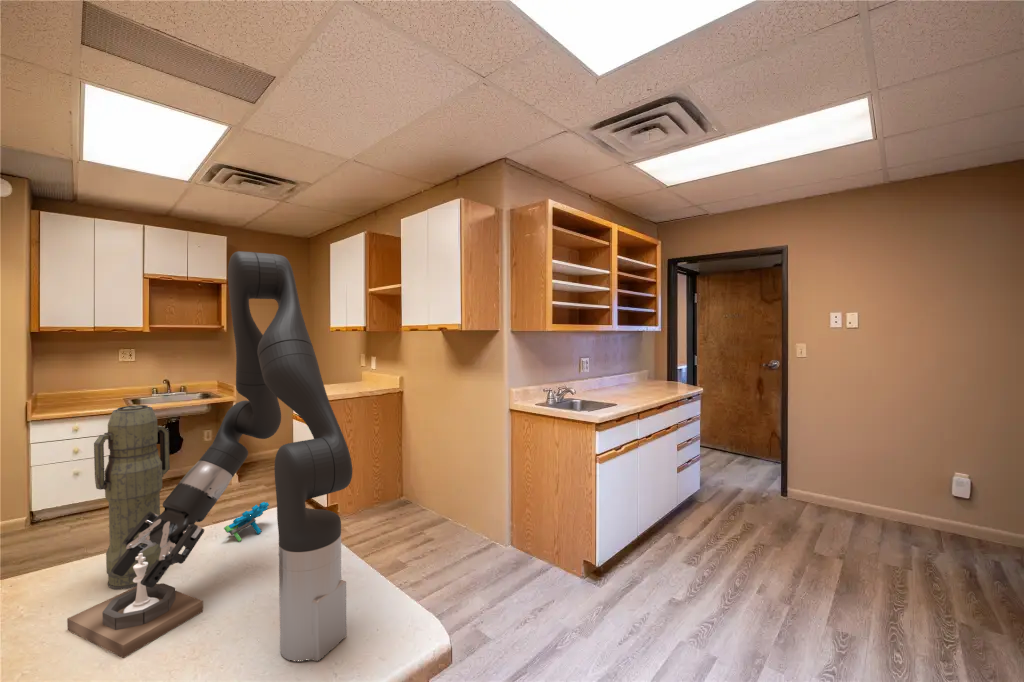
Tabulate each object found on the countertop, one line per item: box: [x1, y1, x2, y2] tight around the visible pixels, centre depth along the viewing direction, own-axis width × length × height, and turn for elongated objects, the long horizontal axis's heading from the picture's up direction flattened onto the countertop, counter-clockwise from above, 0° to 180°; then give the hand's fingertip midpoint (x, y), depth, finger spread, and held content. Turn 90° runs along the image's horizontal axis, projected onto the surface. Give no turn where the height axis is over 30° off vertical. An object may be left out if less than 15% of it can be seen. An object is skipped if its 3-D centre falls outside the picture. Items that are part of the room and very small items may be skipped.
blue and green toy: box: [223, 501, 270, 543], centre depth 109 cm, size 11×6×10 cm
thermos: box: [93, 404, 171, 590], centre depth 89 cm, size 9×12×35 cm
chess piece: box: [123, 553, 159, 613], centre depth 76 cm, size 5×5×10 cm
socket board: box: [66, 582, 204, 659], centre depth 76 cm, size 16×12×4 cm
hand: (130, 580), depth 75 cm, fingers open, 8 cm apart
